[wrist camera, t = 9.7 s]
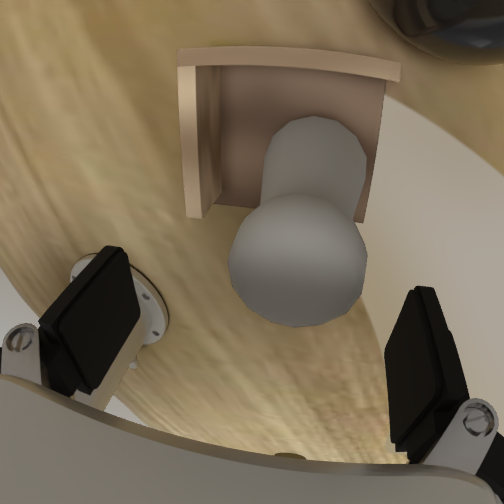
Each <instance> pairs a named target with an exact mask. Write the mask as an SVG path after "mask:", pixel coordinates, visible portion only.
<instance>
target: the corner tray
mask: <svg viewBox="0 0 504 504" xmlns="http://www.w3.org/2000/svg"><path fill="white" fill-rule="evenodd" d="M177 67H178V98H179V120H180V138H181V154H182V168H183V182H184V194H185V205H186V216H187V217H190V218H198V219H202V218H203V217H204V215H205V214H206V213H207V211H208V210H209V209H210V207H211V206H212V204H221V205H230V206H239V207H247V208H257V207H259V206H260V201H261V190H262V179H263V167H264V156H265V154H266V151H267V149H268V146H269V144H270V141H271V139H272V137H273V135H275V134H276V133H277V132H278V131H279V130H280V129H282V128H283V127H284V126H285V125H286V124H288V123H289V122H290V121H293V120H297V119H301V118H306V117H310V116H317V117H322V118H327V119H331V120H336V121H338V122H339V123H340V124H342V125H343V126H344V127H345V128H347V129H348V130H349V131H350V132H351V133H353V134H354V135H355V136H356V137H357V139H358V141H359V143H360V145H361V147H362V149H363V151H364V153H365V155H366V157H367V161H366V178H365V182H364V185H363V188H362V191H361V195H360V198H359V201H358V204H357V207H356V210H355V213H354V216H353V220H354V222H358V223H363V222H364V216H365V212H366V207H367V202H368V197H369V192H370V186H371V181H372V175H373V170H374V163H375V157H376V151H377V145H378V137H379V130H380V124H381V116H382V109H383V100H384V91H385V82H386V80H391V81H396V82H400V73H401V63H400V62H395V61H390V60H385V59H380V58H375V57H369V56H363V55H357V54H350V53H343V52H335V51H327V50H317V49H306V48H292V47H273V46H217V47H197V48H184V49H177Z"/></svg>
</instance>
